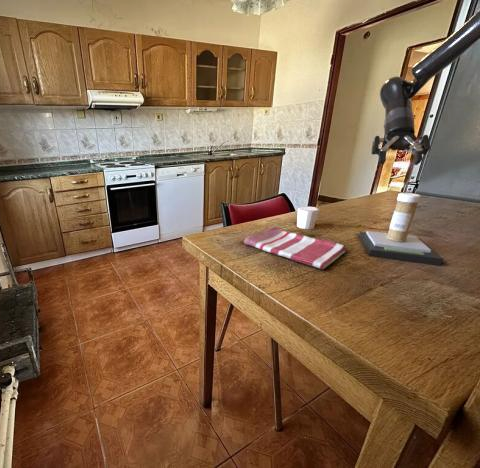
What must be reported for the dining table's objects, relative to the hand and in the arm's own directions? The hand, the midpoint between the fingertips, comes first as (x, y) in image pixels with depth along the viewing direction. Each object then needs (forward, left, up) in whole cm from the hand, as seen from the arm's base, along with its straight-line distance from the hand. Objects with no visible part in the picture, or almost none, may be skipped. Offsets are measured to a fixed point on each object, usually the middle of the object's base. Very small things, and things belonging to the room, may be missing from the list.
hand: (399, 163), depth 82 cm
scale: (+1, +18, -23) cm, 29 cm away
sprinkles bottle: (+1, +17, -20) cm, 26 cm away
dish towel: (+28, +28, -23) cm, 46 cm away
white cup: (+24, +5, -23) cm, 33 cm away
